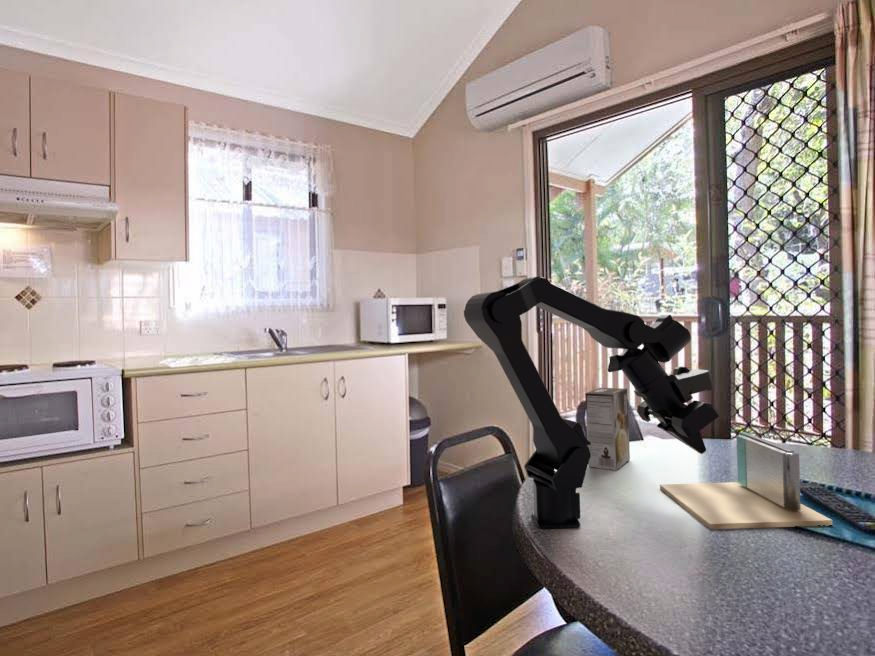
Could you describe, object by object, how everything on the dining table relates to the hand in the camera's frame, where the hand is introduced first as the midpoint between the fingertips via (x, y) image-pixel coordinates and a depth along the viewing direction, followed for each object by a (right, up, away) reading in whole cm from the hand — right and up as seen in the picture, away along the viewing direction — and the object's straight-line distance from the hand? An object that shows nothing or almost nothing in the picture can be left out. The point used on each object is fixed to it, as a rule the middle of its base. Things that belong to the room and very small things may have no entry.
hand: (703, 452), depth 87 cm
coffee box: (-8, -9, +24) cm, 27 cm away
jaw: (+10, -7, -2) cm, 12 cm away
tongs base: (+4, -8, -2) cm, 10 cm away
